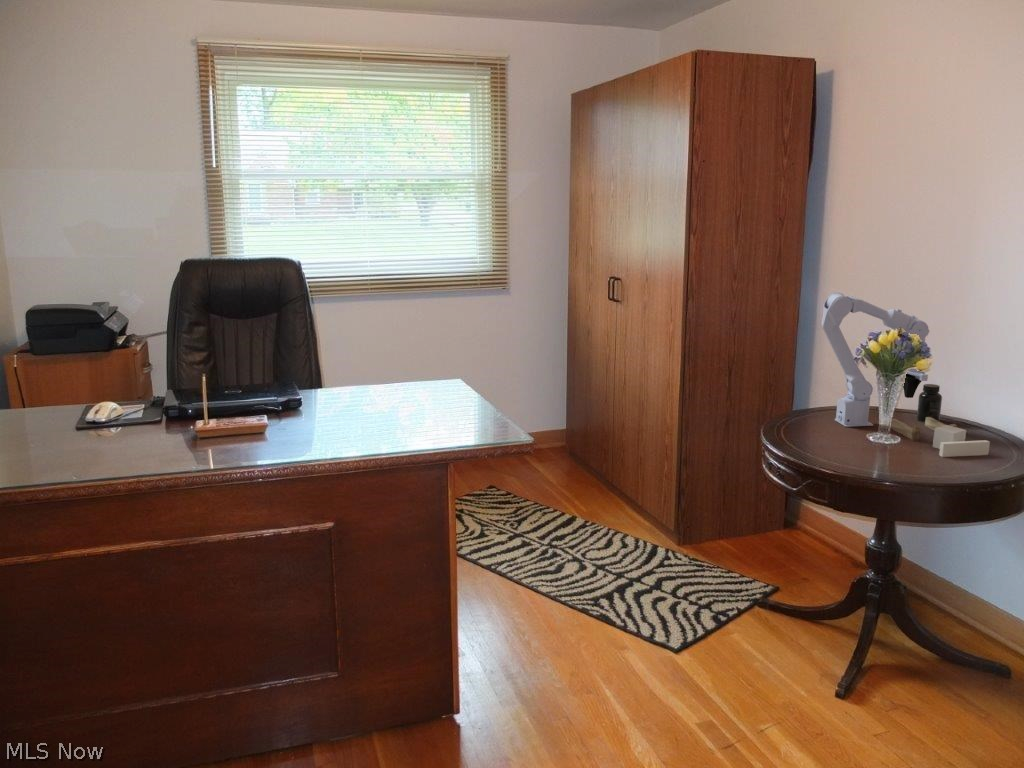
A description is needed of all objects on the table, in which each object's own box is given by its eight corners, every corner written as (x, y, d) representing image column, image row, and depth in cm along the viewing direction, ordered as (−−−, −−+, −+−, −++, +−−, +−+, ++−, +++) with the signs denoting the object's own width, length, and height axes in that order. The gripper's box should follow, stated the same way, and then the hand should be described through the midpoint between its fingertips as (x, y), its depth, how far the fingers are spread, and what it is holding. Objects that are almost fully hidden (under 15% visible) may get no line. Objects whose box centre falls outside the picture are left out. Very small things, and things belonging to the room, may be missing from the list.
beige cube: (951, 452, 233) (953, 433, 232) (932, 447, 238) (934, 428, 237) (964, 449, 236) (966, 430, 234) (945, 443, 241) (947, 424, 239)
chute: (913, 440, 244) (915, 427, 243) (889, 427, 257) (890, 414, 256) (955, 439, 245) (957, 425, 244) (929, 425, 258) (930, 412, 257)
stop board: (942, 456, 229) (943, 443, 228) (939, 455, 231) (940, 442, 230) (988, 454, 230) (989, 441, 229) (984, 453, 232) (986, 440, 231)
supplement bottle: (940, 419, 265) (944, 384, 262) (938, 424, 260) (942, 389, 257) (917, 416, 269) (921, 382, 266) (915, 421, 263) (919, 386, 260)
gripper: (938, 360, 247) (933, 402, 251) (912, 351, 261) (908, 391, 265) (917, 361, 247) (912, 403, 250) (892, 352, 261) (887, 391, 264)
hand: (908, 397), depth 257 cm, fingers closed
